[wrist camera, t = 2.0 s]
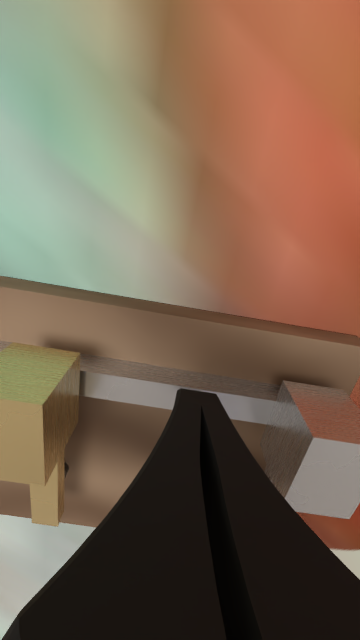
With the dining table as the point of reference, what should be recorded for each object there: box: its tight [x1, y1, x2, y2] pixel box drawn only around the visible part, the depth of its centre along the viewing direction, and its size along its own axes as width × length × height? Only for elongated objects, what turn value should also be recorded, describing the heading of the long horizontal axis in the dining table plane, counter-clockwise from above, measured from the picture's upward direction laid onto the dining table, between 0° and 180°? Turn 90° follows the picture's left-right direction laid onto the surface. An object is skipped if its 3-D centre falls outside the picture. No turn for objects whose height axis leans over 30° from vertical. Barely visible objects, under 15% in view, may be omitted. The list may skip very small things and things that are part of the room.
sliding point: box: [0, 342, 80, 526], centre depth 11 cm, size 9×2×4 cm, turn 170°
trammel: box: [0, 340, 360, 519], centre depth 11 cm, size 9×21×4 cm, turn 80°
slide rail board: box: [0, 276, 360, 527], centre depth 14 cm, size 14×22×1 cm, turn 80°
